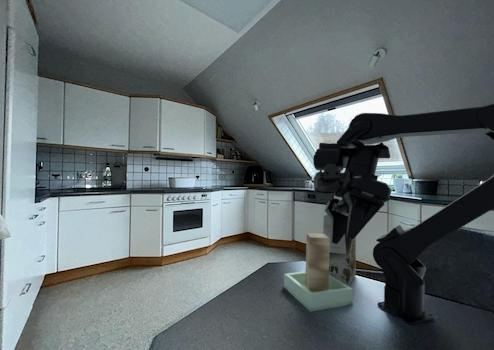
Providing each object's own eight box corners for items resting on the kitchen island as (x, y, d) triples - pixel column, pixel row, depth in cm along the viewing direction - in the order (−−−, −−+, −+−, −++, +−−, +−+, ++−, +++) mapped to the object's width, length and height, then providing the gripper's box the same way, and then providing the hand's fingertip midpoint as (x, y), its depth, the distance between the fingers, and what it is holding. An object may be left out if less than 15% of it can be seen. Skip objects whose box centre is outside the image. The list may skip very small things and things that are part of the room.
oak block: (323, 288, 49) (324, 234, 49) (328, 297, 45) (329, 238, 45) (305, 287, 49) (306, 233, 50) (308, 296, 45) (309, 237, 46)
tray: (320, 282, 53) (320, 269, 53) (352, 304, 44) (353, 288, 44) (283, 287, 50) (284, 273, 50) (310, 311, 41) (310, 295, 41)
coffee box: (348, 288, 51) (350, 218, 51) (320, 280, 55) (322, 215, 55) (356, 276, 58) (357, 214, 59) (331, 269, 62) (332, 212, 63)
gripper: (313, 175, 57) (294, 231, 52) (335, 136, 40) (309, 214, 35) (357, 190, 55) (341, 250, 50) (399, 156, 38) (382, 243, 33)
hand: (341, 241), depth 42 cm, fingers open, 9 cm apart
